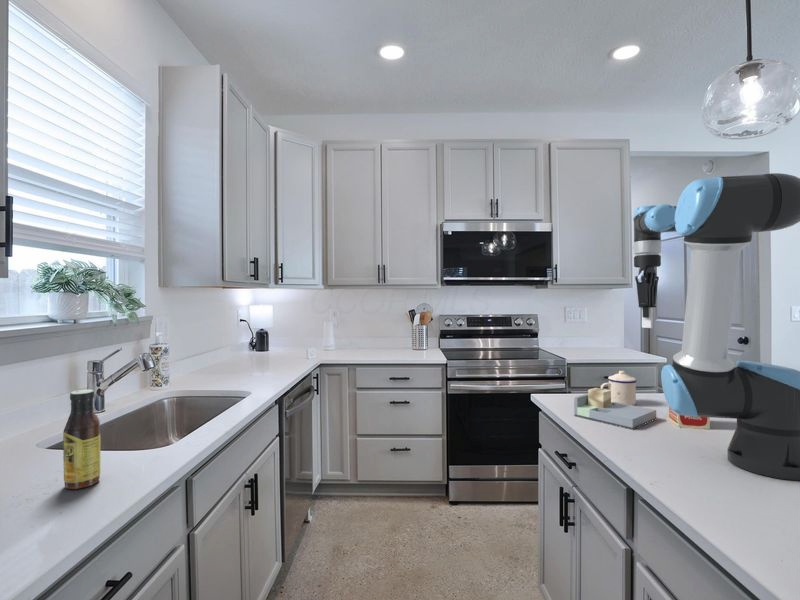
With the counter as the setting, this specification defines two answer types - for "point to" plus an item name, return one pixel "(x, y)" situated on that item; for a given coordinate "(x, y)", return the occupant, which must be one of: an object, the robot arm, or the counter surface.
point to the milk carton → (689, 420)
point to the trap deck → (613, 413)
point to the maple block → (599, 397)
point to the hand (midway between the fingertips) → (647, 327)
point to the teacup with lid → (622, 388)
